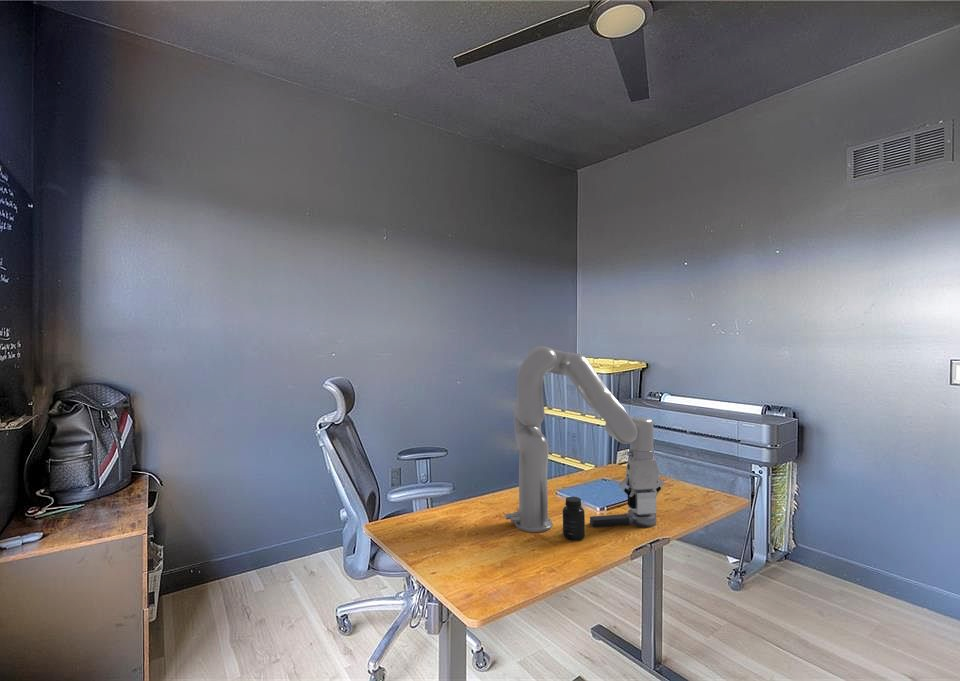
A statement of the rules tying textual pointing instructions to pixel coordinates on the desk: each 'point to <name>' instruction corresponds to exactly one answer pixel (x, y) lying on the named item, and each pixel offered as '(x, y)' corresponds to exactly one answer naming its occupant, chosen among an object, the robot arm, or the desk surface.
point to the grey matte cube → (645, 502)
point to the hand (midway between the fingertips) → (641, 506)
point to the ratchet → (624, 520)
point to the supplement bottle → (573, 519)
